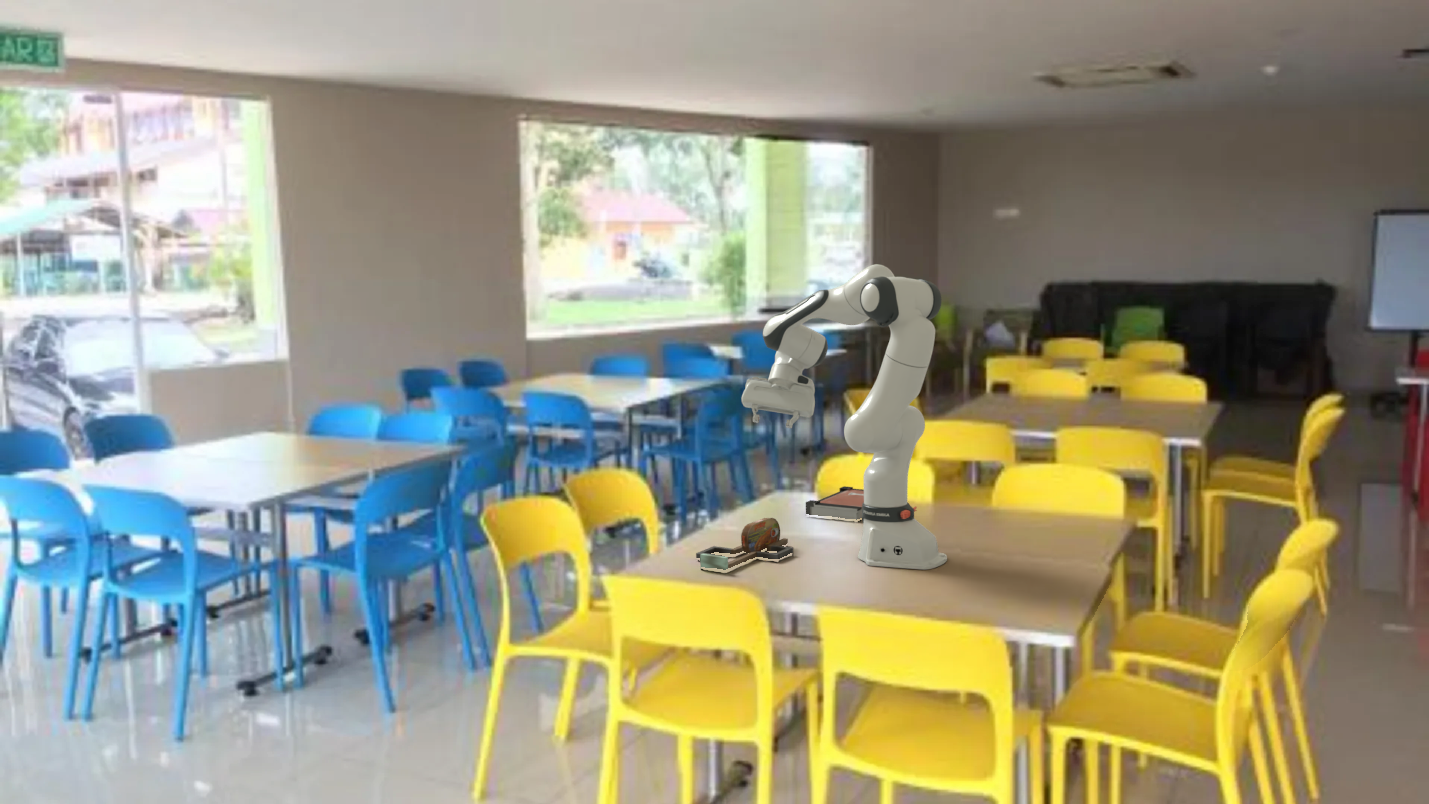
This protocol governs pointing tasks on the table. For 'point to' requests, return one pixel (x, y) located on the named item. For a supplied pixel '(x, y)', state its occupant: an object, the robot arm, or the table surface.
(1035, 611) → the table surface
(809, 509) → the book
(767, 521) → the tin
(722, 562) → the trap lane
